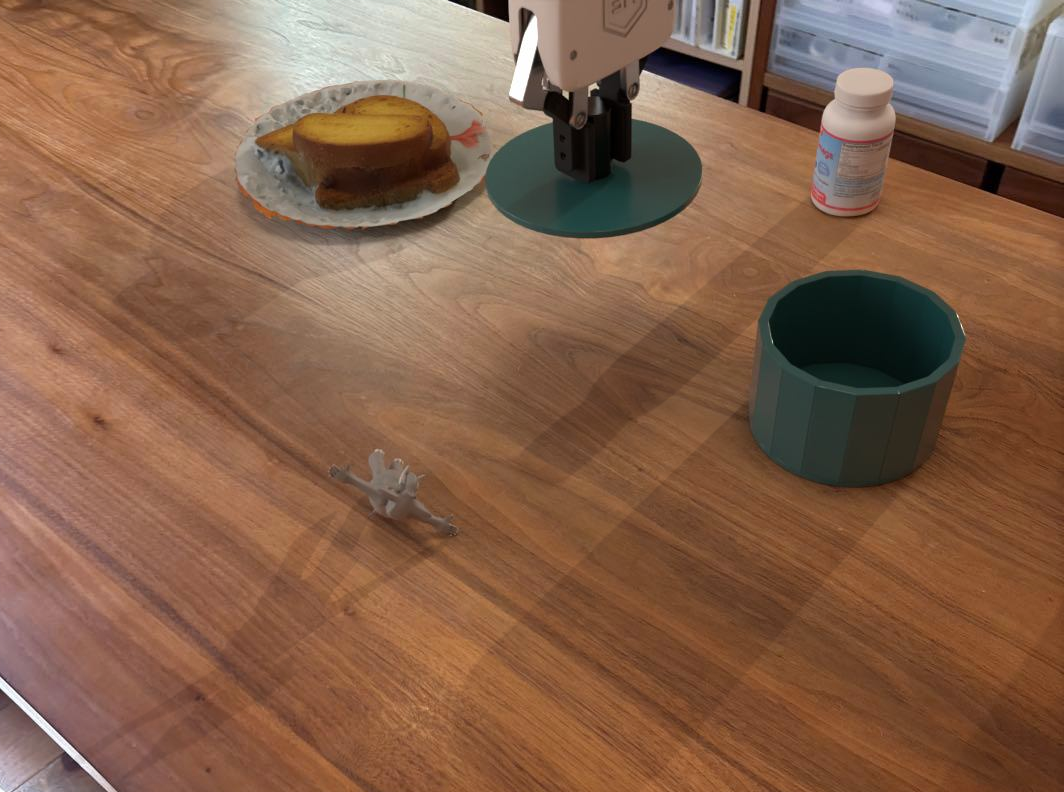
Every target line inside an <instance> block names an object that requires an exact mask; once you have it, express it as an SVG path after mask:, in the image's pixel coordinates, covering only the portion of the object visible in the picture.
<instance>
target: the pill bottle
mask: <svg viewBox="0 0 1064 792" xmlns="http://www.w3.org/2000/svg"><path fill="white" fill-rule="evenodd" d="M894 84H895V83H894V79H893V77H892V76H891V75H890V74H888V73H887V72H885V71H883V70H881V69H877V68H873V67H855V68H851V69H847V70H845V71H843V72H841V73H840V74H839V75H838V76H837V78H836V82H835V88H834V92H833V94H834V99H833V100H831V101H830V102H828V104H827V105H826V107H825V108H824V110H823V113H822V115H821V121H820V129H819V135H818V142H817V148H816V149H817V151H816V156H815V162H814V169H813V175H812V183H811V189H810V198H811V201H812V203H813V204H814V205H815V207H816V208H818V209H819V210H820V211H822V212H824V213H826V214H828V215H832V216H835V217H856V216H857V217H858V216H862V215H866V214H868V213H870V212H871V211H873V210H874V209H875V208H877V206H879V205H878V204H879V203H880V201H881V196H882V193H883V187H884V183H885V177H886V172H887V167H888V163H889V158H890V152H891V148H892V147H891V146H892V141H893V138H894V137H893V136H894V133H895V132H894V131H895V125H896V121H897V119H896V118H897V117H896V111H895V109H894V107H893V106H892V104H891V103H890V102H891V99H893V91H894Z"/></svg>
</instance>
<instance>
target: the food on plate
mask: <svg viewBox="0 0 1064 792" xmlns="http://www.w3.org/2000/svg"><path fill="white" fill-rule="evenodd" d="M483 116H484V114H483V112H481V111H480V110H478V109H477V108H475V106H474V105H473V104H471V103H469V102H467V101H462V100H461V99H460V98H457V97H456V96H454V95H453V94H452V93H449V92H447V91H443V90H441V89H439V88H437V87H435V86H433V85H430V84H421V83H418V82H417V83H416V82H412V81H408V80H396V79H374V80H373V79H371V80H361V81H358V80H355V81H353V82H350V83H349V82H348V83H345V84H344V83H343V84H334V85H329V86H328V85H327V86H325V87H322V88H320V89H317V90H314V91H311V92H306V93H305V92H304V93H303V94H300V95H298V96H296V97H294V98H292V99H290V100H287V101H285V102H283V103H280V104H277V105H275V106H273V107H271V108H270V110H269V111H268V112H266V113H264V114H262V115H260V116H258V117H256V118H254V124H253V125H251V126H250V127H249V128H248V129H247V130H246V131H245V132H244V134H243V135H244V136H243V140H242V141H240V142H239V143H238V145H237V146H236V151H235V154H234V157H235V158H234V162H235V165H234V171H235V175H236V177H235V181H237V186H238V189H239V190H240V191H241V192H242V194H243V196H244V197H248V198H249V199H251V201H252V204H253V207H254V209H255V210H257V211H258V212H259V213H261V214H263V215H264V217H265V218H267V219H269V220H272V217H276V216H277V217H278V218H279V219H280V220H282V221H296V224H297V225H300V224H303V225H306V226H312V227H319V228H321V229H323V230H327V229H338V228H340V227H341V228H343V229H345V230H349V231H351V230H353V229H357V228H359V227H361V231H363V230H365V229H367V228H369V227H370V228H371V227H379V226H386V225H387V226H388V225H389V226H393V225H397V224H399V222H403V221H408V220H414V219H417V220H419V219H424V217H425V216H429V215H431V214H434V213H437V212H438V211H439V210H440V209H443V208H447V207H449V206H451V205H452V204H453V201H456V200H457V199H459V198H460V197H462V196H463V195H465V194H467V193H468V192H470V191H473V188H474V187H475V186H477V185H479V184H482V183H483V181H484V180H485V175H486V170H487V167H488V164H489V162H490V160H491V159H492V157H493V156H494V147H493V146H492V143H493V138H492V137H491V136H490V134H489V130H488V128H487V126H486V125H485V122H484V121H483V118H482V117H483ZM483 155H488V157H487V158H486V159H483V158H481V156H483Z"/></svg>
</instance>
